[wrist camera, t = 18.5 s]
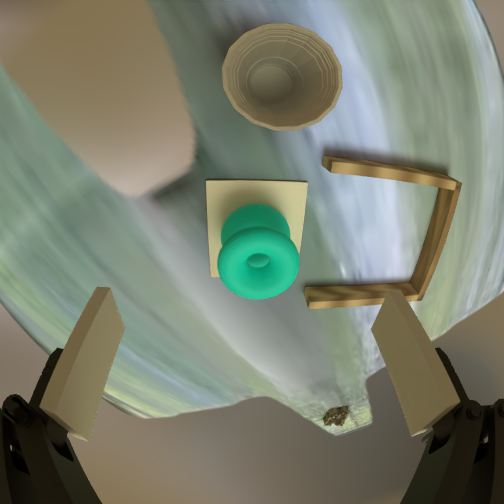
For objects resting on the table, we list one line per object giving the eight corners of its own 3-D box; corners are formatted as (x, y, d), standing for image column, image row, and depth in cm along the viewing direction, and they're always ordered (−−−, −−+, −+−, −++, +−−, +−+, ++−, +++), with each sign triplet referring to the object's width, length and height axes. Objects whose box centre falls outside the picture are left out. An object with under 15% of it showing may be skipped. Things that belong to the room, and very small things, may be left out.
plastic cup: (233, 42, 26) (229, 14, 16) (316, 56, 27) (349, 37, 17) (222, 118, 32) (213, 124, 22) (304, 129, 33) (332, 141, 23)
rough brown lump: (339, 417, 79) (341, 427, 76) (320, 420, 79) (322, 429, 75) (350, 404, 74) (353, 414, 70) (330, 407, 73) (332, 417, 70)
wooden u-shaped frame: (303, 293, 47) (308, 308, 44) (323, 155, 35) (332, 161, 31) (412, 288, 48) (421, 300, 45) (447, 175, 36) (461, 183, 33)
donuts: (198, 266, 31) (269, 215, 28) (207, 228, 39) (262, 187, 37) (251, 315, 35) (316, 276, 32) (249, 272, 44) (301, 237, 41)
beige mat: (211, 275, 44) (210, 277, 44) (206, 180, 36) (206, 180, 36) (295, 275, 45) (296, 276, 45) (307, 182, 37) (307, 182, 36)
